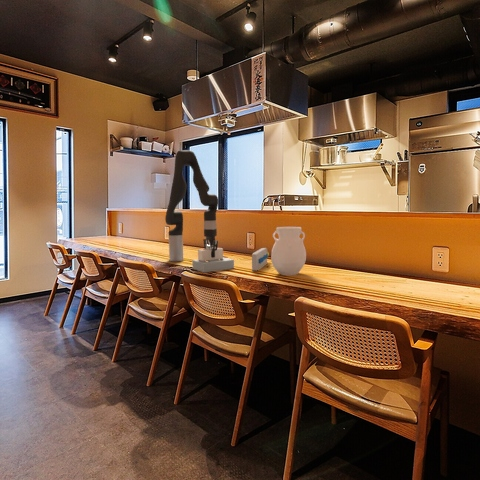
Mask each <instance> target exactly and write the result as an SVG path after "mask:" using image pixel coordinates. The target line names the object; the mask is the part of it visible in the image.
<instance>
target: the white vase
mask: <svg viewBox="0 0 480 480" xmlns="http://www.w3.org/2000/svg"><path fill="white" fill-rule="evenodd" d="M302 229H303V228H302V227H301V226H277V227H276V230H275V231H274V232H273V233H272V238H273V239H274V241H275V242H274V244H273V246H272V248H271V254H270V256H271V257H270V259H271V264H272V266H273V268H274V269H275V270H276V272H278V273H279V274H280V275H282V276H296V275H299V273H300V271H302V269H303V267H304V266H305V263H306V260H307V250H306V247H305V244H304V240H305V238H306V233H305V232H304V231H303V230H302ZM276 234H277V235H278V238H277V237H276ZM301 234H302V238H301V237H300V236H301Z"/></svg>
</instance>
